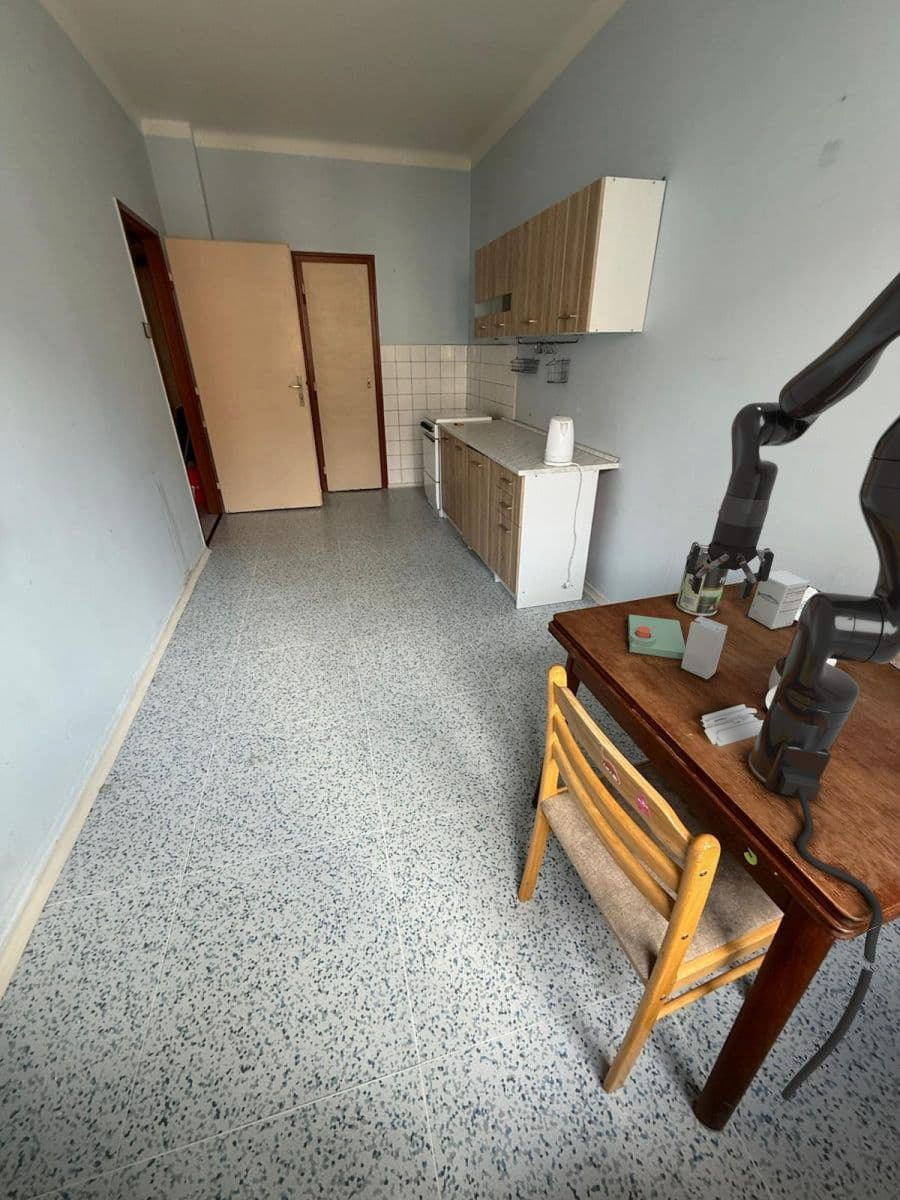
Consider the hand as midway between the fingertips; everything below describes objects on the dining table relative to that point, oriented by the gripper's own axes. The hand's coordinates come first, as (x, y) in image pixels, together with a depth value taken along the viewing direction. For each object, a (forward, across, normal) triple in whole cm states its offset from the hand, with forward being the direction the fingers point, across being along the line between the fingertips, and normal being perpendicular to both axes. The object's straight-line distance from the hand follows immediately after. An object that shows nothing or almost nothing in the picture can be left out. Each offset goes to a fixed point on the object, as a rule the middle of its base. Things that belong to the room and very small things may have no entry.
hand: (718, 595), depth 95 cm
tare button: (+16, -12, +6) cm, 20 cm away
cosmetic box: (+19, 0, 0) cm, 19 cm away
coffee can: (+19, +4, +31) cm, 37 cm away
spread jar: (+19, +16, -8) cm, 26 cm away
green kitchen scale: (+19, -8, +11) cm, 23 cm away
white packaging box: (+19, +21, +28) cm, 40 cm away
